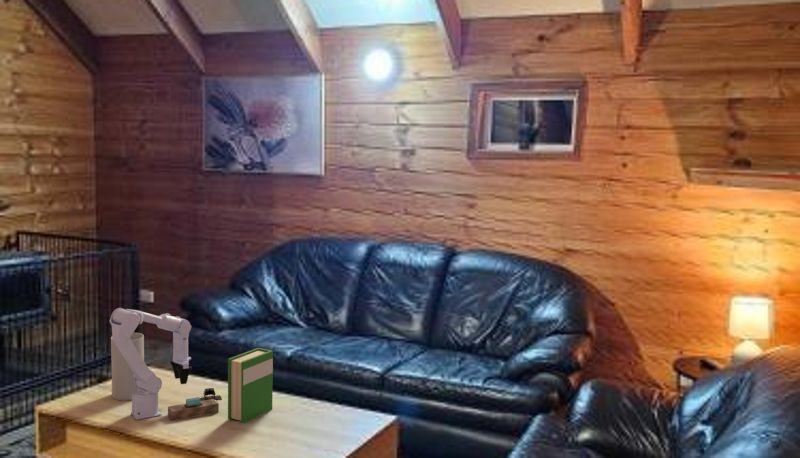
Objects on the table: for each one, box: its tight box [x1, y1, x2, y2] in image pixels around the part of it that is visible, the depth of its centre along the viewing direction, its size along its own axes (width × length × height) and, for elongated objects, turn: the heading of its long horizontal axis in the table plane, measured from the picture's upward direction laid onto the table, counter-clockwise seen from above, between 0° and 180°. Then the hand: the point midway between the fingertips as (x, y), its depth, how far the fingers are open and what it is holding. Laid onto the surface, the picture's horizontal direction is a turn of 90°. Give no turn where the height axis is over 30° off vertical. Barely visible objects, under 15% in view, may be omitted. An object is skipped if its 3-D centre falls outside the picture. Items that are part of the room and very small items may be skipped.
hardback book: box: [227, 347, 274, 424], centre depth 278 cm, size 18×7×24 cm, turn 152°
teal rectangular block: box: [185, 396, 201, 408], centre depth 278 cm, size 5×2×6 cm, turn 123°
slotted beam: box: [167, 399, 220, 421], centre depth 278 cm, size 18×6×4 cm, turn 124°
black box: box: [199, 387, 223, 402], centre depth 294 cm, size 12×7×5 cm, turn 112°
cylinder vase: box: [110, 332, 145, 401], centre depth 294 cm, size 12×12×25 cm
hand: (180, 381), depth 287 cm, fingers open, 7 cm apart
